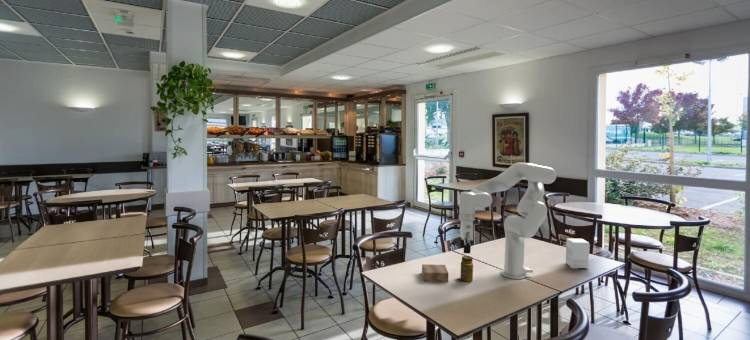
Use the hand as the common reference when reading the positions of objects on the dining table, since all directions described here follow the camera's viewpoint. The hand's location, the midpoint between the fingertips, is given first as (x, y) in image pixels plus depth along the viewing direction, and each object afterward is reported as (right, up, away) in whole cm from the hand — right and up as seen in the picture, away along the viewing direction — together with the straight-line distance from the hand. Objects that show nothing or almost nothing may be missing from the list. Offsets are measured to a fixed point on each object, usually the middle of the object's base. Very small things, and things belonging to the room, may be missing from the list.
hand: (465, 250), depth 188 cm
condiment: (0, -16, +2) cm, 16 cm away
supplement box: (+69, -14, +24) cm, 74 cm away
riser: (-14, -16, +6) cm, 22 cm away
